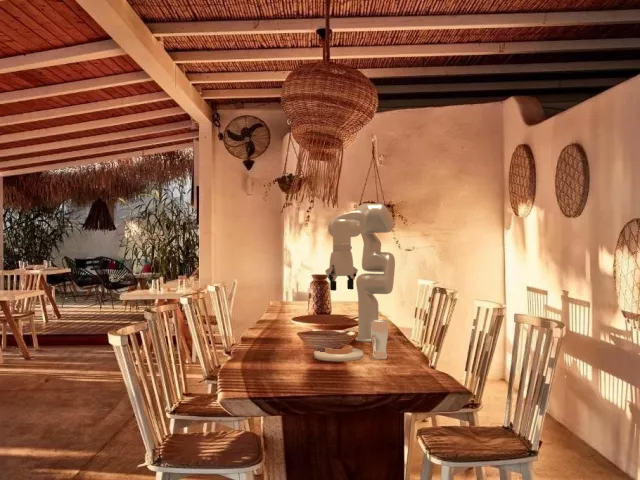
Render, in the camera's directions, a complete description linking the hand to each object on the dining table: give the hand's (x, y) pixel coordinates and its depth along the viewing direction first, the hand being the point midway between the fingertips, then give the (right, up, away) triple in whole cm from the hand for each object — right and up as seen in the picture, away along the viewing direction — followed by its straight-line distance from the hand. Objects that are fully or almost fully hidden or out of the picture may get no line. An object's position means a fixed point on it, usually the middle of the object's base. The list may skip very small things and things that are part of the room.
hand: (341, 289), depth 252 cm
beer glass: (+15, -27, -9) cm, 32 cm away
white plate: (-2, -27, -6) cm, 27 cm away
